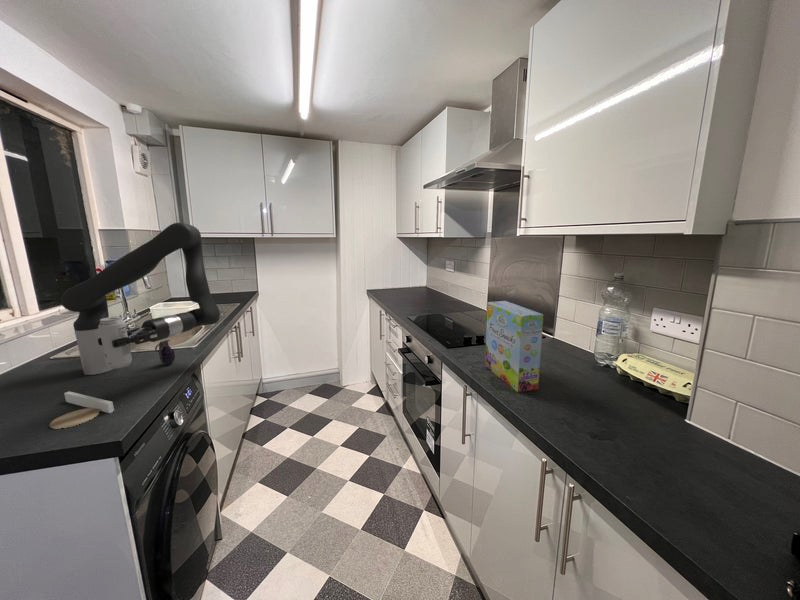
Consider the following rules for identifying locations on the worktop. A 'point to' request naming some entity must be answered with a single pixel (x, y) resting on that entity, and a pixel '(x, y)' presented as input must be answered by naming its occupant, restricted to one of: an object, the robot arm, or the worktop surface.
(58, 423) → the cork coaster
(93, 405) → the white rectangular bar
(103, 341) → the energy drink can
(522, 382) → the snack box
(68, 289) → the robot arm
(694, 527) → the worktop surface
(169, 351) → the hand grenade
